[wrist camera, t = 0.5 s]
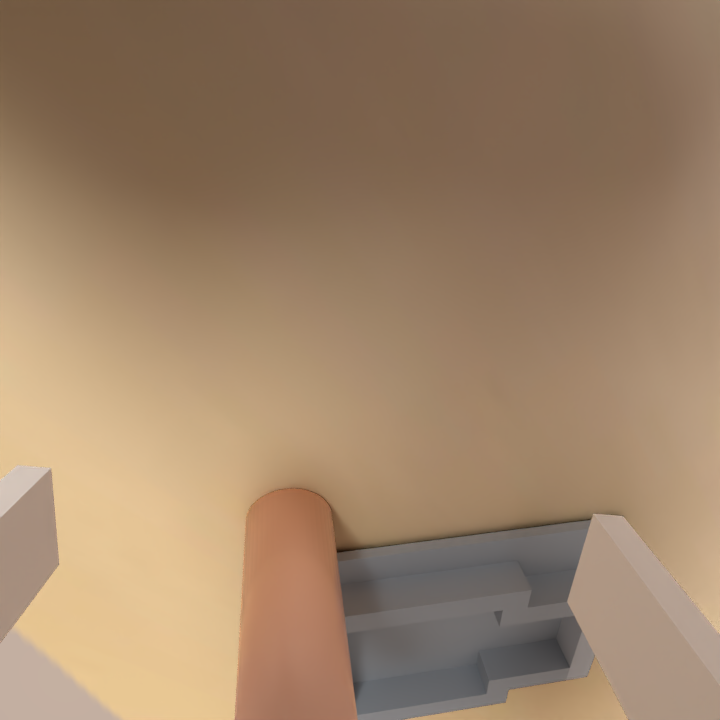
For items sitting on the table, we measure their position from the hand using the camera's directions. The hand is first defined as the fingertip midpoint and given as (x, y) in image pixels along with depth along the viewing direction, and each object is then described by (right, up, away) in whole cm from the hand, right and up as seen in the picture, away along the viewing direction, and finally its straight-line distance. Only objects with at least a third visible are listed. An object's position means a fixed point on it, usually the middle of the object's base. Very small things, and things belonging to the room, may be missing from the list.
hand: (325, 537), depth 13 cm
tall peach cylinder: (-3, -4, +15) cm, 16 cm away
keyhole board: (+7, -13, +22) cm, 26 cm away
